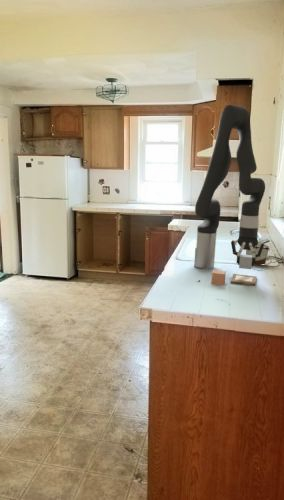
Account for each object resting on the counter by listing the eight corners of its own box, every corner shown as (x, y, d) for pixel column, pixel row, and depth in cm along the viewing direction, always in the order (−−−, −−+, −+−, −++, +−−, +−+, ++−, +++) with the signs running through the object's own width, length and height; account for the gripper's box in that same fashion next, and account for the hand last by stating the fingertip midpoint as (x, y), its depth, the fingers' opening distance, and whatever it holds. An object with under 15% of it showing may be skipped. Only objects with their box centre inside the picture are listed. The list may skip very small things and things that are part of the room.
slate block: (238, 268, 160) (239, 256, 159) (239, 265, 164) (240, 254, 163) (251, 269, 158) (252, 257, 157) (251, 266, 163) (252, 255, 162)
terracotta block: (211, 284, 157) (212, 272, 156) (212, 281, 162) (213, 269, 161) (223, 285, 155) (224, 274, 154) (224, 282, 160) (225, 271, 159)
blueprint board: (230, 283, 159) (230, 280, 159) (233, 275, 170) (233, 273, 170) (255, 286, 156) (255, 283, 155) (256, 278, 167) (256, 276, 167)
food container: (265, 262, 197) (267, 243, 195) (268, 265, 191) (270, 246, 189) (241, 261, 198) (243, 242, 196) (243, 264, 192) (245, 245, 190)
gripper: (230, 226, 156) (227, 265, 160) (266, 228, 152) (262, 269, 155) (232, 223, 163) (229, 261, 167) (266, 226, 159) (263, 264, 162)
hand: (245, 265), depth 161 cm, fingers closed on slate block, 5 cm apart
